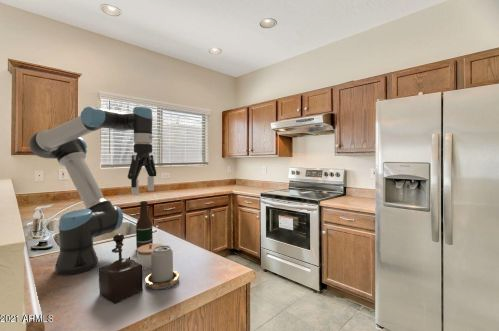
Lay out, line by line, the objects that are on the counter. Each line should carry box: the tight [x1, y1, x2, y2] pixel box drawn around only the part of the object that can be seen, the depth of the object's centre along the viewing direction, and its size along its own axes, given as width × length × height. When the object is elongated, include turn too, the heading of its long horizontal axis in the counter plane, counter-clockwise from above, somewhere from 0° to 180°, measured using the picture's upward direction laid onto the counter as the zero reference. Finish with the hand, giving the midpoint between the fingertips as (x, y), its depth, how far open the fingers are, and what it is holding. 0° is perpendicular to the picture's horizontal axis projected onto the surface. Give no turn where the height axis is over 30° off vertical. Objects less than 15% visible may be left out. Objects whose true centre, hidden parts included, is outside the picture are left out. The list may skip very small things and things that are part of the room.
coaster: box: [145, 270, 180, 291], centre depth 97 cm, size 12×12×2 cm
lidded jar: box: [136, 243, 163, 269], centre depth 112 cm, size 11×11×9 cm
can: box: [151, 244, 174, 283], centre depth 97 cm, size 8×8×12 cm
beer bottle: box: [135, 200, 154, 250], centre depth 131 cm, size 8×8×24 cm
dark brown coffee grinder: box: [97, 233, 144, 305], centre depth 91 cm, size 16×11×18 cm
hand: (143, 192), depth 114 cm, fingers open, 13 cm apart
